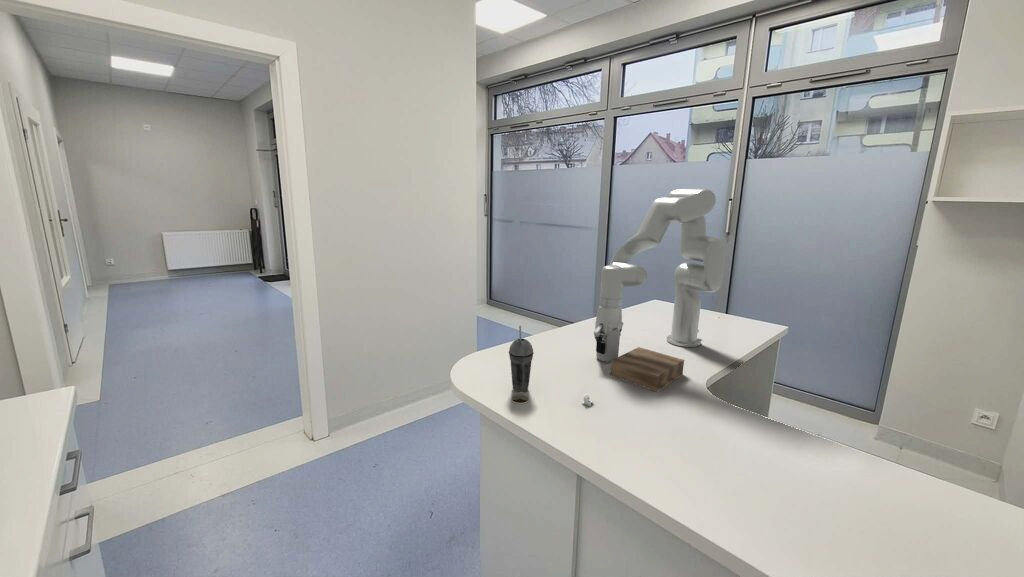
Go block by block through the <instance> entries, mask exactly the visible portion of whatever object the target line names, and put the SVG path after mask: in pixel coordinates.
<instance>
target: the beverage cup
mask: <svg viewBox="0 0 1024 577" xmlns="http://www.w3.org/2000/svg"><path fill="white" fill-rule="evenodd" d="M518 328H519V329H518V331H519V338H517V339H515V340H513V341H512V342H511V343H510V345H509V349H508V350H509V351H508V354H509V355H508V356H509V359H510V368H511V369H510V371H511V384H512V385H511V386H512V390H513V392H516V393H519V392H521V393H522V392H523V393H526V392H527V391H528V390H529V386H530V378H531V369H532V360H533V358H534V349H533V345H532V344H531V342H530V341H529V340H528V339H526V338H522V325H518Z"/></svg>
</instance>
